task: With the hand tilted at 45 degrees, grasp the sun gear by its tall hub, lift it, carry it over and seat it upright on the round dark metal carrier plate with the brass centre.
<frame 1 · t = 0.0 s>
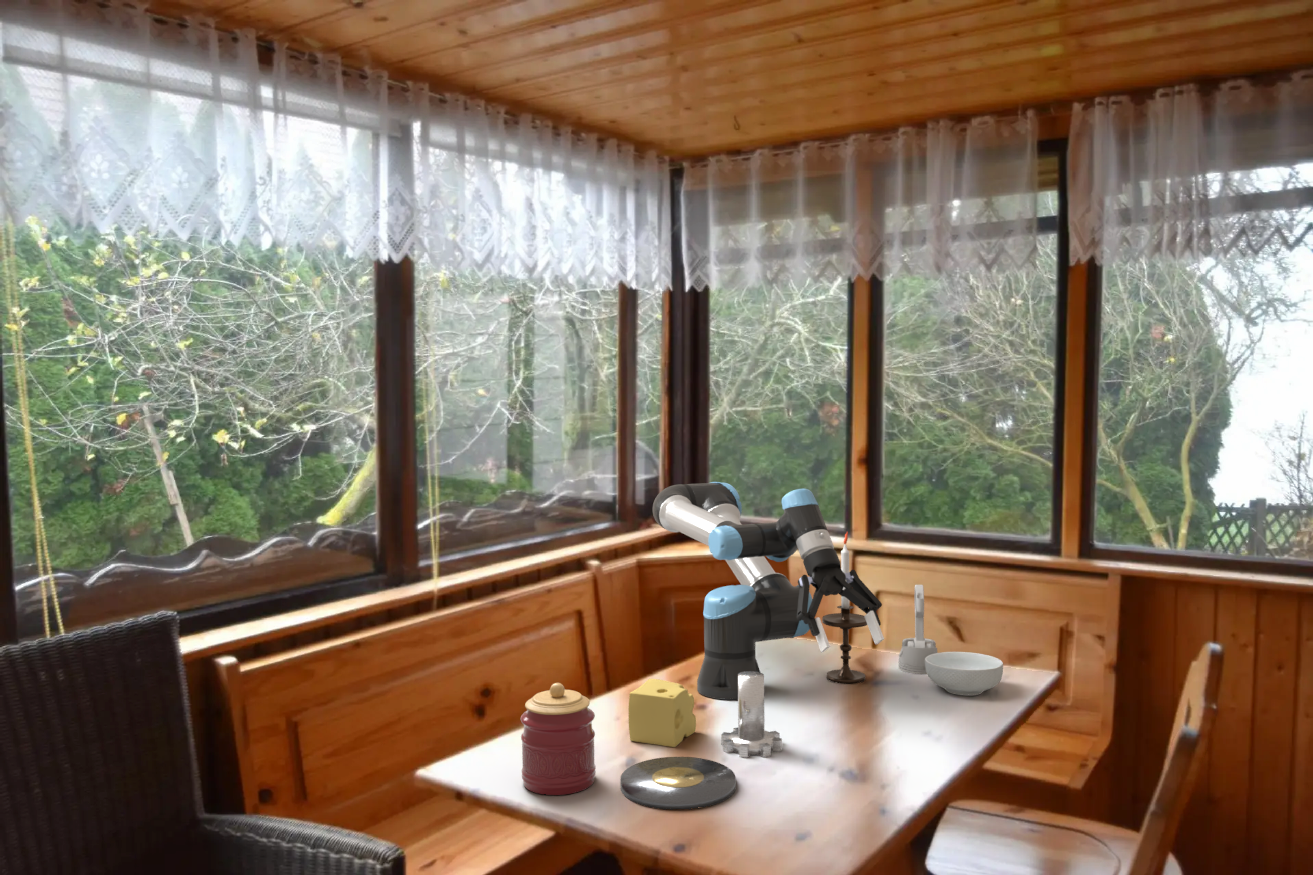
hand: (853, 645, 208), 15 cm above the table, tool tilted 35°, fingers open, 13 cm apart
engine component: (919, 669, 246), on the table
candlestick: (845, 679, 238), on the table
cheese: (661, 738, 199), on the table
carrier plate: (678, 785, 174), on the table
cereal bowl: (963, 691, 227), on the table
canister: (559, 783, 177), on the table
sun gear: (751, 746, 193), on the table
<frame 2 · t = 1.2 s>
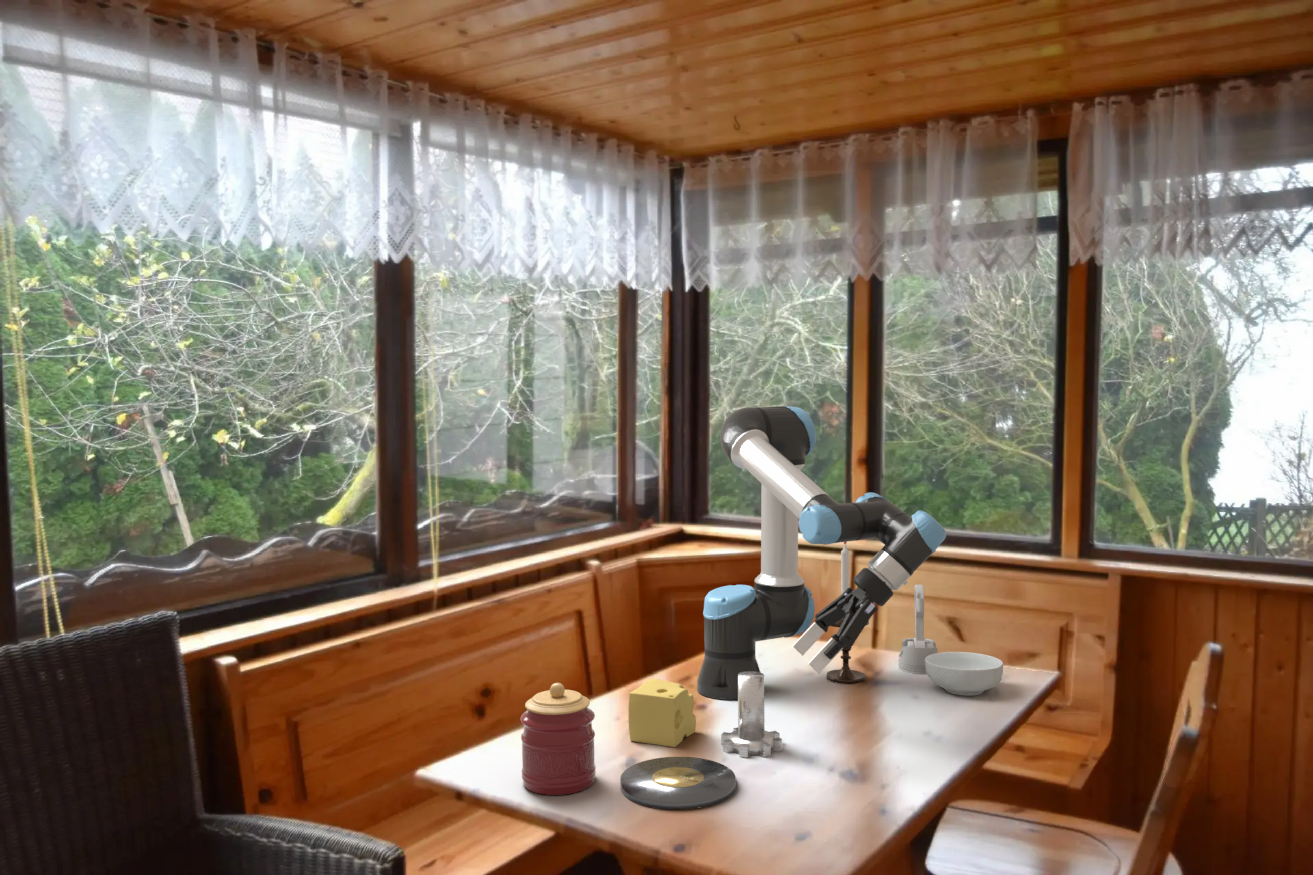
hand: (804, 659, 193), 17 cm above the table, tool tilted 45°, fingers open, 13 cm apart
nothing on the table moved.
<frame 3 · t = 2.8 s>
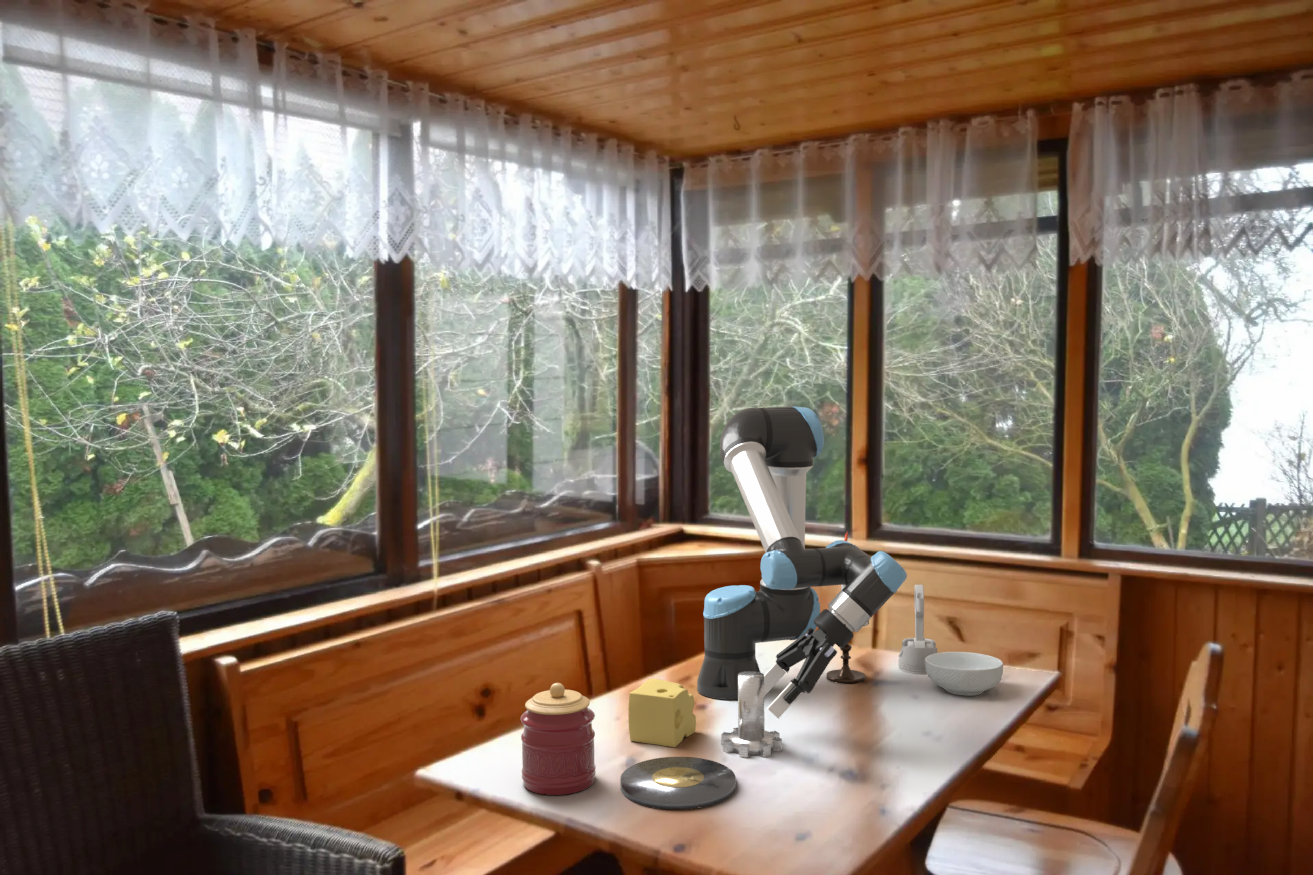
hand: (765, 702, 191), 9 cm above the table, tool tilted 45°, fingers open, 13 cm apart
nothing on the table moved.
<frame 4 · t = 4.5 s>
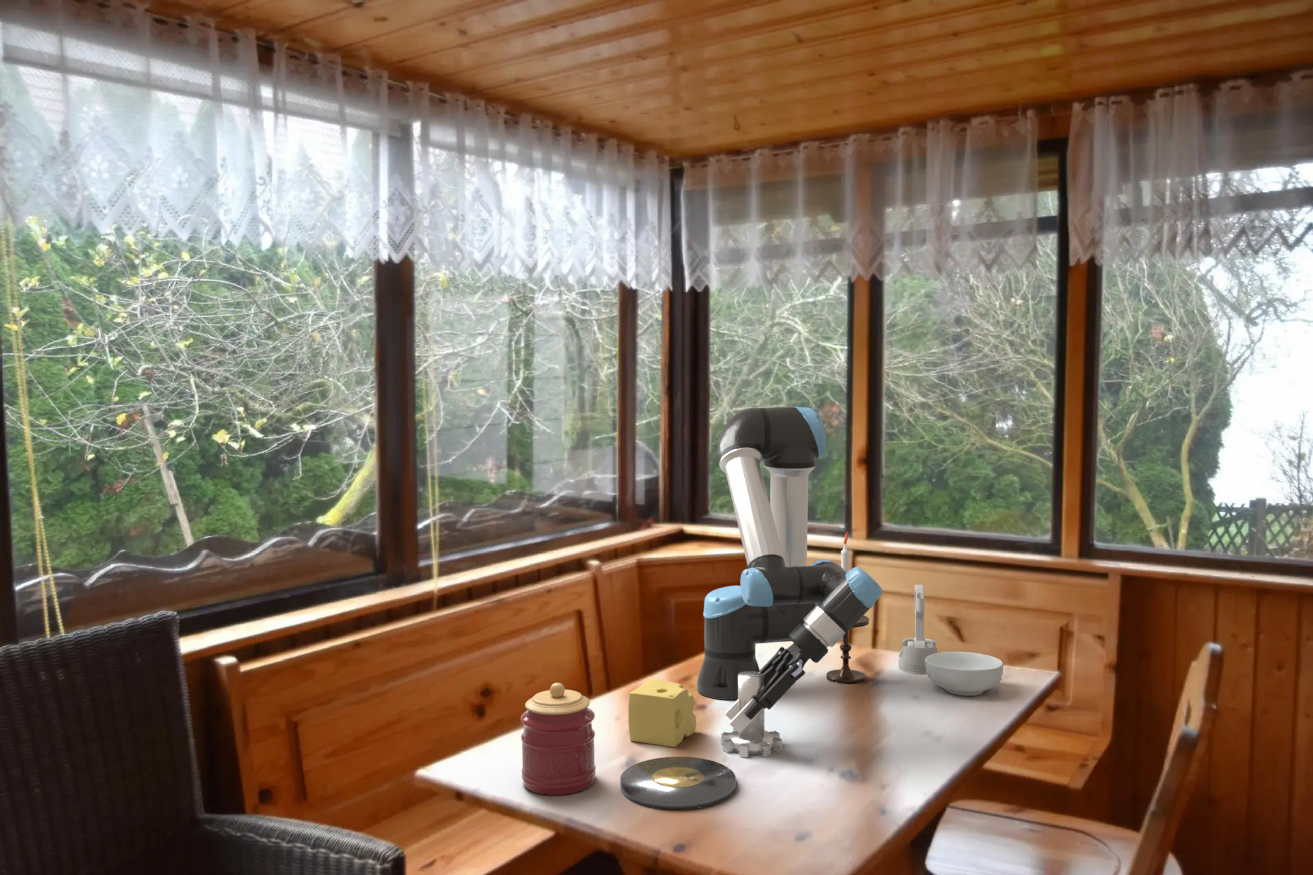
hand: (732, 722, 192), 5 cm above the table, tool tilted 45°, fingers closed on sun gear, 5 cm apart
sun gear: (751, 746, 193), on the table, touching gripper
everything else where it was.
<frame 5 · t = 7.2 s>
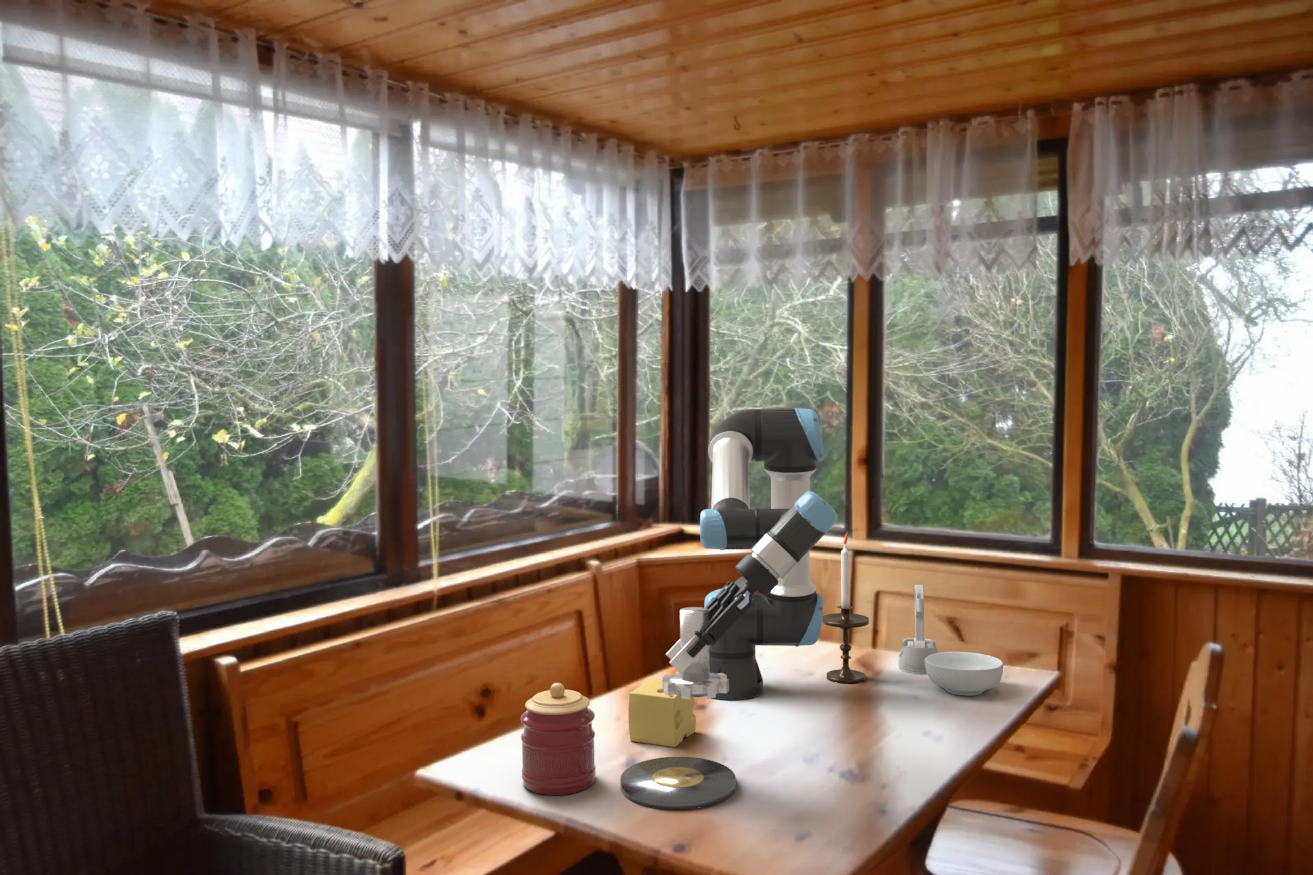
hand: (673, 663, 174), 21 cm above the table, tool tilted 45°, fingers closed on sun gear, 5 cm apart
sun gear: (695, 689, 175), point 16 cm above the table, touching gripper
everything else where it was.
when the fingers open (7 cm above the table, at t = 10.2 s): sun gear stays where it is, resting on carrier plate.
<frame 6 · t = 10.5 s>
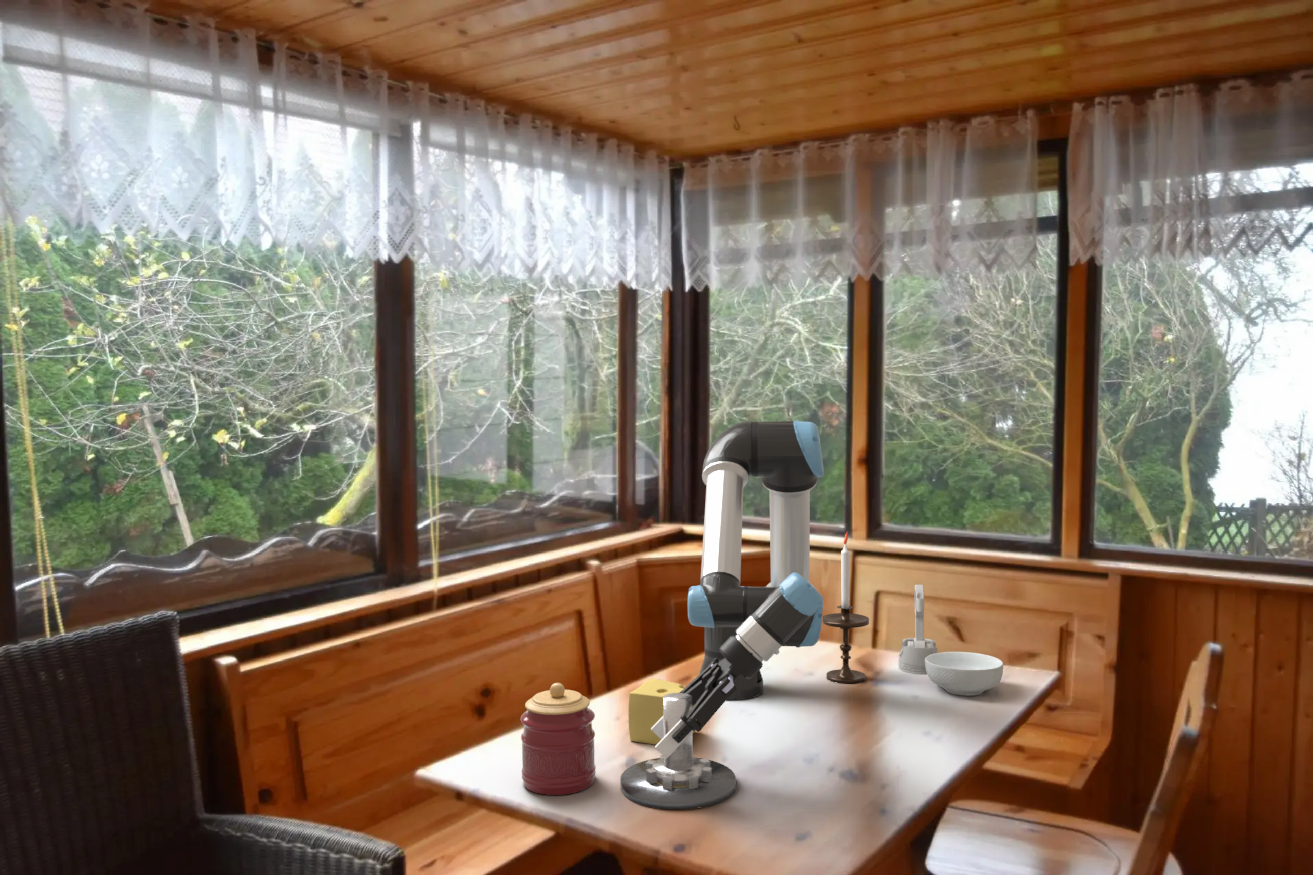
hand: (658, 742, 173), 8 cm above the table, tool tilted 45°, fingers open, 8 cm apart
sun gear: (678, 776, 174), point 2 cm above the table, touching carrier plate
everything else where it was.
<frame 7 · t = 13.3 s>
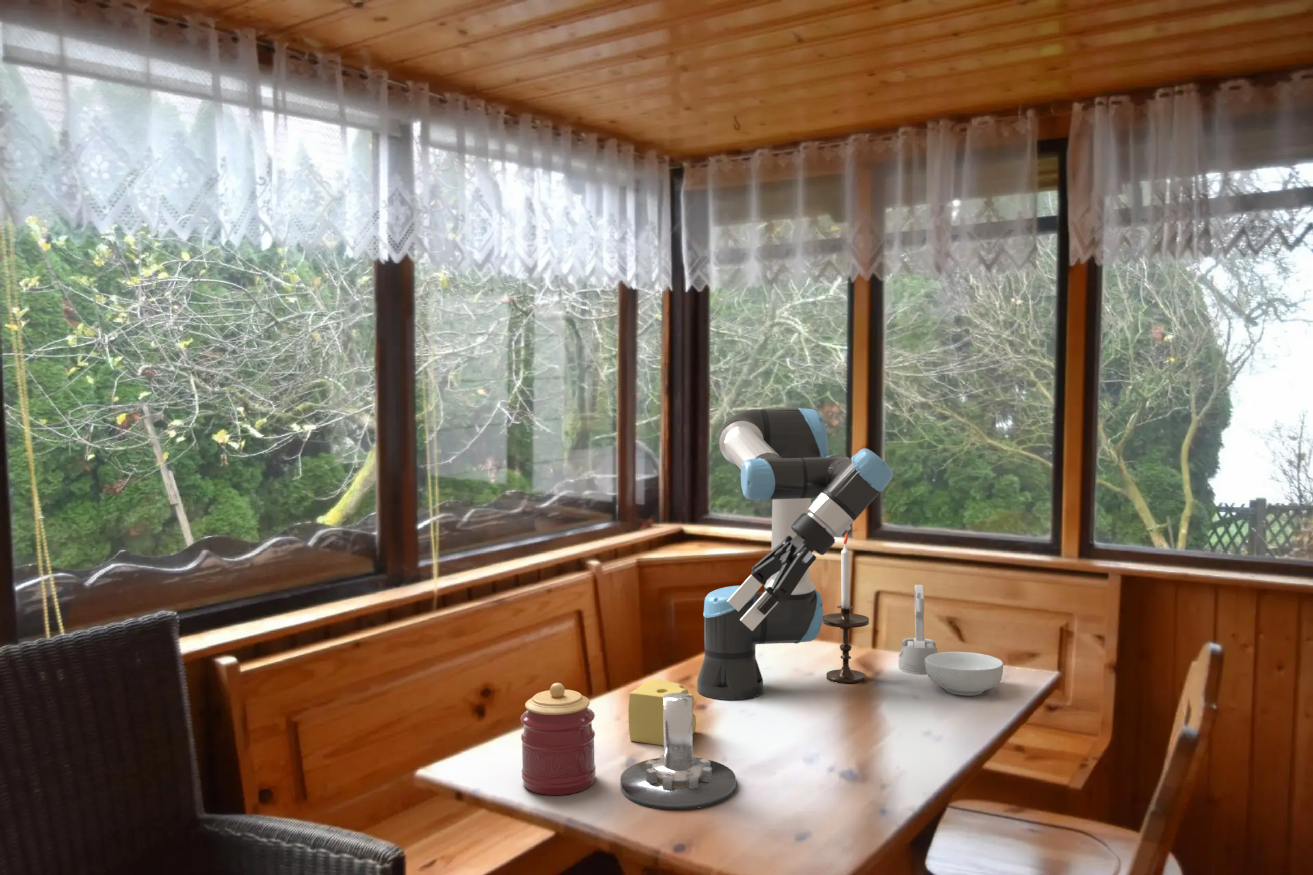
hand: (738, 615, 174), 29 cm above the table, tool tilted 45°, fingers open, 13 cm apart
nothing on the table moved.
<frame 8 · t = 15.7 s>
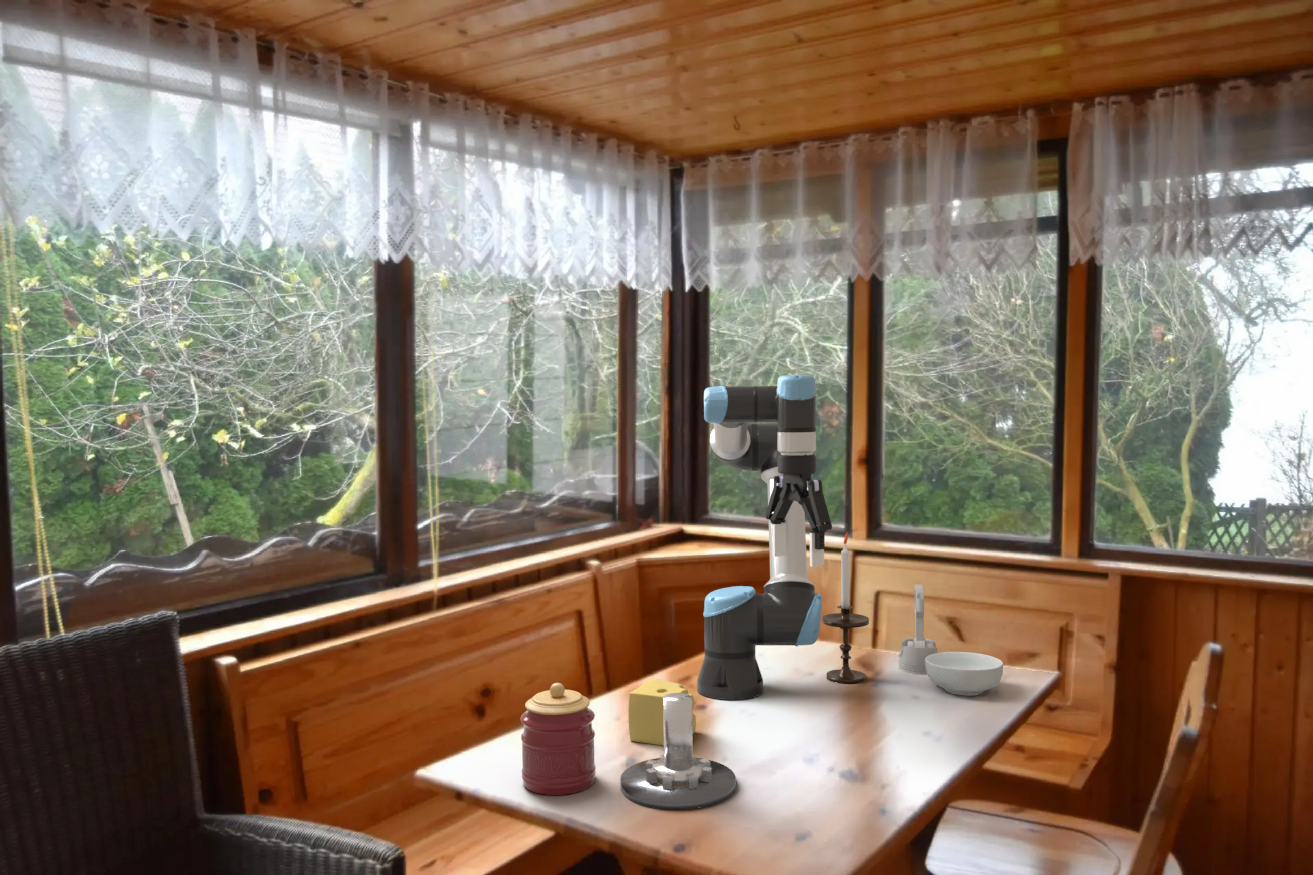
hand: (797, 560, 198), 35 cm above the table, tool pointing down, fingers open, 13 cm apart
nothing on the table moved.
at the end: sun gear 0.1 cm from the carrier plate (horizontally); sun gear touching carrier plate; sun gear tilted 0° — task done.
